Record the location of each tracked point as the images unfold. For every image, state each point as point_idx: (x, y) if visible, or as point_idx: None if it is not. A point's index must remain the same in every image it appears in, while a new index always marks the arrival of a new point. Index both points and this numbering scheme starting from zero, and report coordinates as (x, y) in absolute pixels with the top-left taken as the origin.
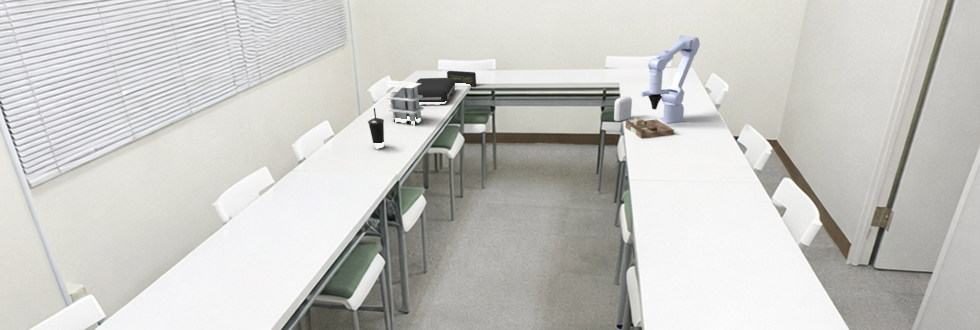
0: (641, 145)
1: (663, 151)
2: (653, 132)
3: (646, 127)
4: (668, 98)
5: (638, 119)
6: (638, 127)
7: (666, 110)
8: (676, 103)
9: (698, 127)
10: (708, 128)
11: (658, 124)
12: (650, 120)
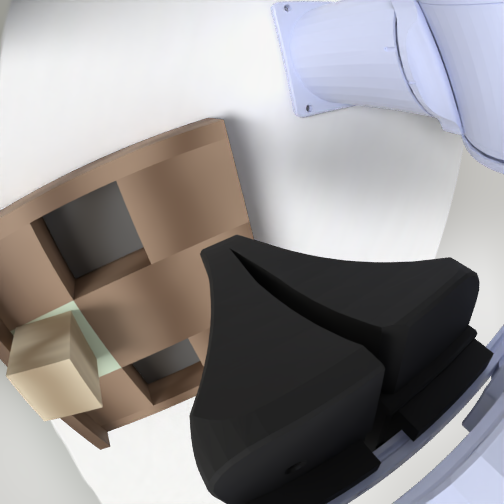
0: (108, 462)
1: (187, 475)
2: (160, 409)
3: (113, 350)
4: (483, 82)
5: (50, 399)
6: (69, 418)
7: (361, 73)
8: (471, 151)
9: (406, 206)
10: (425, 220)
11: None
12: (158, 156)
